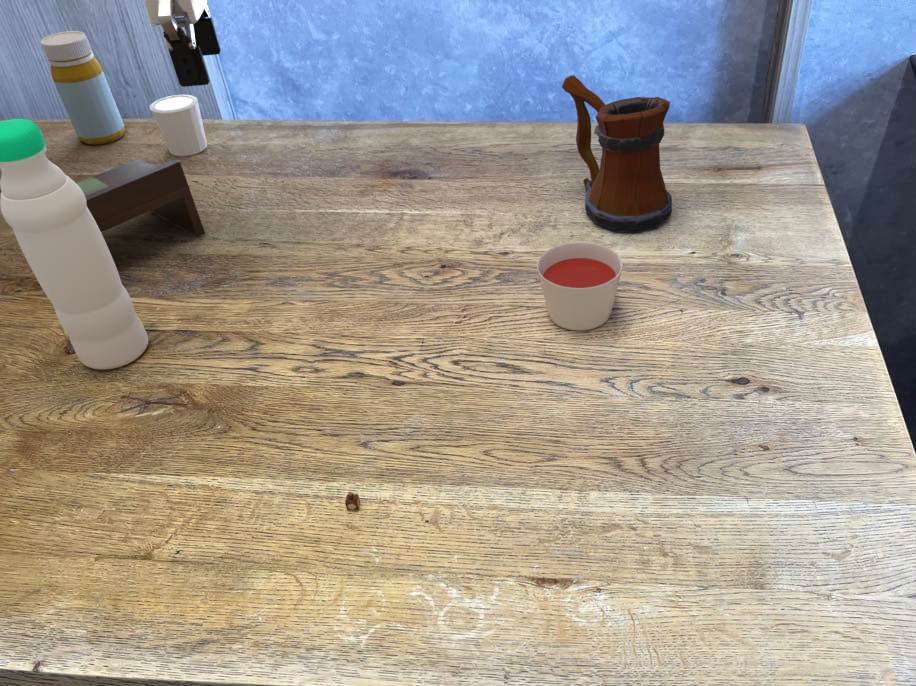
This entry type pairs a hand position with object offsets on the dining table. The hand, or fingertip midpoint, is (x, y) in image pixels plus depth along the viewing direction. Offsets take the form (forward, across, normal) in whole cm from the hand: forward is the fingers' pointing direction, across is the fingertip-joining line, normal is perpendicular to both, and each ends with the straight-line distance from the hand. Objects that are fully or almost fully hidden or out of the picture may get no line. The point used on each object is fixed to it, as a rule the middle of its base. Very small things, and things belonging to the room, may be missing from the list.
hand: (201, 69), depth 95 cm
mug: (+20, +6, +48) cm, 52 cm away
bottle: (+20, -32, -26) cm, 46 cm away
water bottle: (+20, +26, -11) cm, 35 cm away
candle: (+20, +30, +39) cm, 53 cm away
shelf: (+20, +3, -15) cm, 25 cm away
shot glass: (+20, -25, -11) cm, 34 cm away
